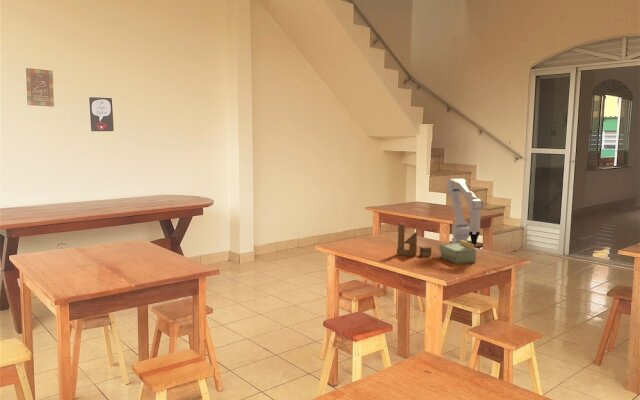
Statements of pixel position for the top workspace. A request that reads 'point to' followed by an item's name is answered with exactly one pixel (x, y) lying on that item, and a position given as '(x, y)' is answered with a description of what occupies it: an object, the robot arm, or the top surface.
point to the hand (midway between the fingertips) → (473, 244)
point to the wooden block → (406, 242)
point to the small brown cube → (425, 251)
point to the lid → (456, 248)
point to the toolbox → (461, 257)
